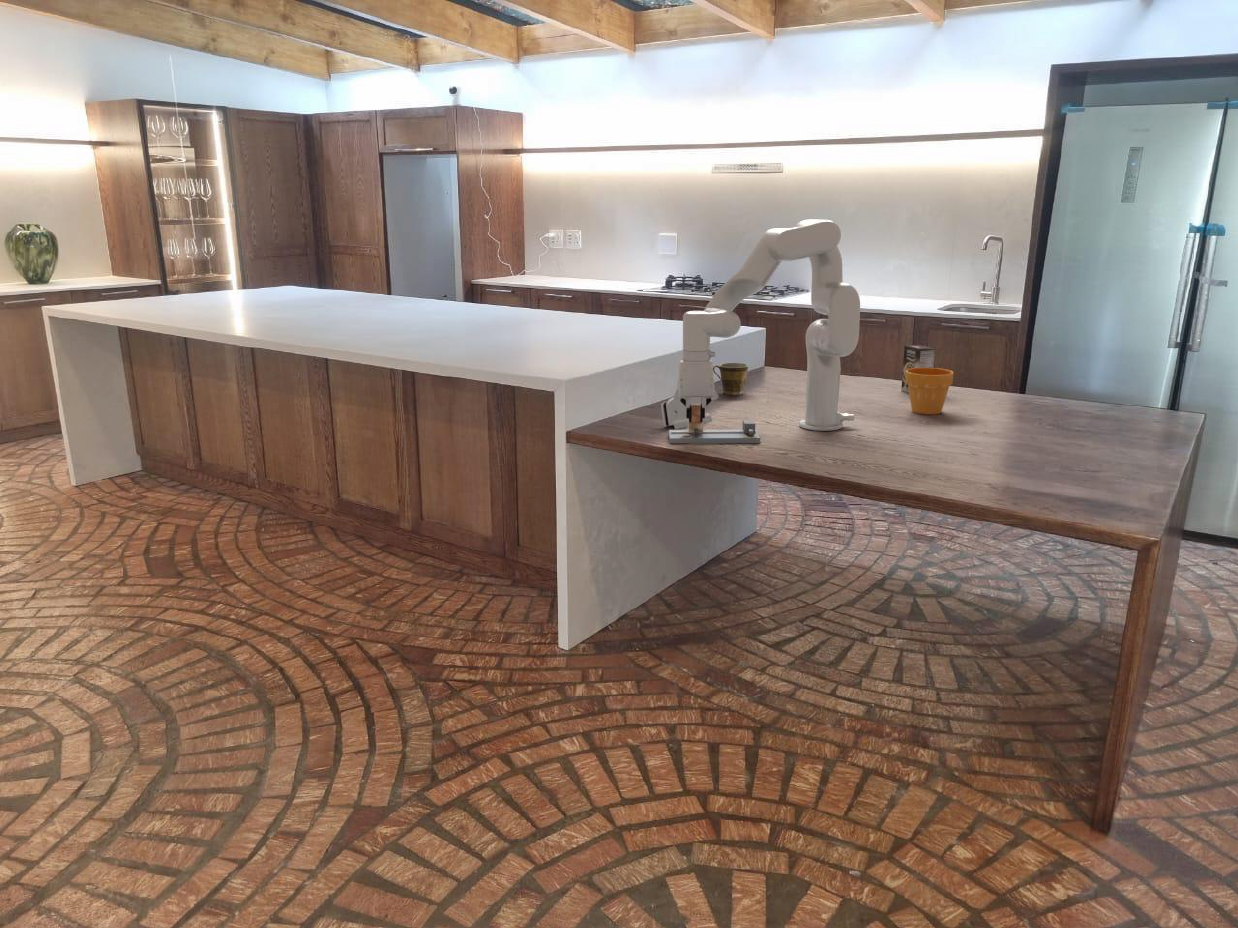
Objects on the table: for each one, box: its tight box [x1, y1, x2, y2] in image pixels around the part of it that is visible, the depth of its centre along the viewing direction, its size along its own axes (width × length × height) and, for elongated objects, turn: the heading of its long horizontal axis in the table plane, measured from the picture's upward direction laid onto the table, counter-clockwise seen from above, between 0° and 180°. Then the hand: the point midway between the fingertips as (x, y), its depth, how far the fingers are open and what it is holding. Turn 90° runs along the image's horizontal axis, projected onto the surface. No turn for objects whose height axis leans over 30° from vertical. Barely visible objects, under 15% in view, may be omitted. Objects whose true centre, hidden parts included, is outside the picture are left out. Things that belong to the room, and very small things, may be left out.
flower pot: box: [905, 367, 954, 415], centre depth 281 cm, size 14×14×13 cm
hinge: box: [660, 395, 713, 430], centre depth 271 cm, size 17×5×10 cm, turn 133°
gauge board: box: [668, 419, 761, 444], centre depth 251 cm, size 25×10×5 cm, turn 89°
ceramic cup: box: [713, 362, 749, 396], centre depth 314 cm, size 13×10×10 cm
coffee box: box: [900, 344, 936, 394], centre depth 310 cm, size 9×6×16 cm
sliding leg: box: [687, 404, 704, 436], centre depth 250 cm, size 4×8×8 cm, turn 179°
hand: (695, 420), depth 252 cm, fingers closed on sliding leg, 2 cm apart
